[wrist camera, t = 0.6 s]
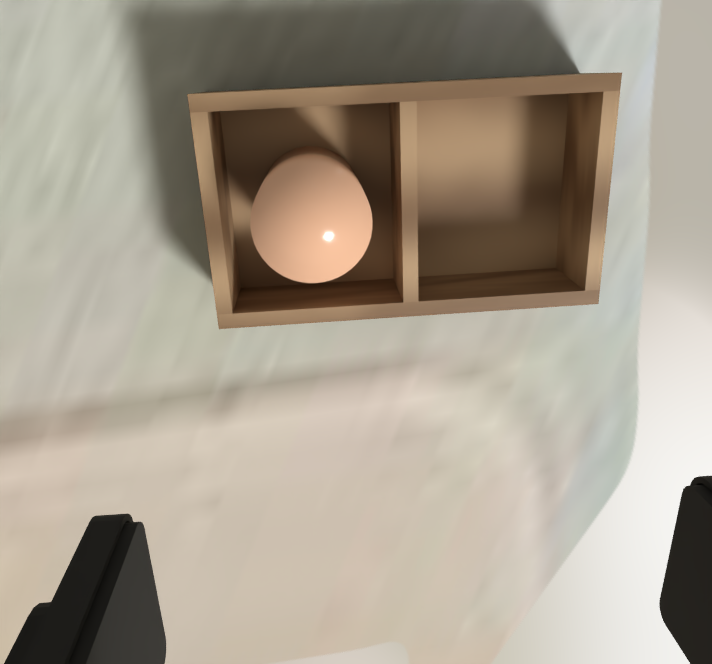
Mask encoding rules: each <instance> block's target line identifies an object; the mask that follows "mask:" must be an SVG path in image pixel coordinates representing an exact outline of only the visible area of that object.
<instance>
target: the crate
mask: <svg viewBox="0 0 712 664" xmlns="http://www.w3.org/2000/svg"><path fill="white" fill-rule="evenodd" d="M621 76H622V73H579V74H559V75H538V76H518V77H498V78H478V79H458V80H437V81H417V82H397V83H377V84H357V85H336V86H316V87H296V88H276V89H255V90H235V91H215V92H201V93H193V94H187V96H188V103H189V111H190V118H191V125H192V133H193V140H194V148H195V155H196V162H197V170H198V177H199V185H200V192H201V199H202V207H203V214H204V222H205V229H206V236H207V244H208V251H209V259H210V266H211V273H212V281H213V288H214V296H215V303H216V310H217V318H218V325H219V329H226V328H241V327H256V326H271V325H286V324H301V323H316V322H331V321H346V320H362V319H377V318H392V317H407V316H422V315H437V314H452V313H467V312H482V311H498V310H513V309H528V308H543V307H558V306H573V305H588V304H598V301H599V292H600V282H601V272H602V262H603V252H604V243H605V233H606V223H607V213H608V204H609V194H610V184H611V174H612V164H613V155H614V145H615V135H616V125H617V116H618V106H619V96H620V86H621ZM306 146H316V147H322V148H325V149H328V150H331V151H333V152H335V153H336V154H338V155H340V156H341V157H342V158H343V159H345V160H346V161H347V162H348V163H349V165H350V166H351V167H352V169H353V170H354V172H355V174H356V176H357V178H358V180H359V182H360V184H361V186H362V188H363V191H364V193H365V195H366V197H367V199H368V202H369V205H370V208H371V212H372V221H373V222H372V234H371V239H370V242H369V245H368V247H367V249H366V251H365V253H364V255H363V256H362V258H361V259H360V260H359V262H358V263H357V264H356V265H355V266H354V267H353V268H352V269H351V270H349V271H348V272H346V273H345V274H343V275H342V276H340V277H338V278H335V279H333V280H330V281H326V282H320V283H304V282H298V281H294V280H291V279H289V278H286V277H284V276H282V275H281V274H279V273H277V272H276V271H275V270H273V269H272V268H271V267H270V266H269V265H268V264H267V263H266V262H265V261H264V260H263V258H262V257H261V255H260V254H259V252H258V251H257V249H256V246H255V244H254V241H253V238H252V234H251V228H250V217H251V210H252V206H253V203H254V200H255V197H256V195H257V193H258V191H259V189H260V186H261V184H262V182H263V180H264V178H265V175H266V173H267V172H268V170H269V168H270V167H271V165H272V164H273V163H274V162H275V161H276V160H277V159H278V158H279V157H280V156H282V155H283V154H285V153H287V152H288V151H291V150H293V149H296V148H299V147H306Z"/></svg>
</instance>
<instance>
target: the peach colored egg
mask: <svg viewBox="0 0 712 664" xmlns="http://www.w3.org/2000/svg"><path fill="white" fill-rule="evenodd" d="M372 222H373V221H372V212H371V208H370V205H369V202H368V199H367V197H366V195H365V193H364V191H363V188H362V186H361V184H360V182H359V180H358V178H357V176H356V174H355V172H354V170H353V169H352V167H351V166H350V165H349V163H348V162H347V161H346V160H345V159H343V158H342V157H341V156H340V155H338V154H336V153H335V152H333V151H331V150H328V149H325V148H322V147H316V146H306V147H299V148H296V149H293V150H291V151H288V152H287V153H285V154H283V155H282V156H280V157H279V158H278V159H277V160H276V161H275V162H274V163H273V164H272V165H271V167H270V168H269V170H268V172H267V173H266V175H265V178H264V180H263V182H262V184H261V186H260V189H259V191H258V193H257V195H256V197H255V200H254V203H253V206H252V210H251V217H250V228H251V234H252V238H253V241H254V244H255V246H256V249H257V251H258V252H259V254H260V255H261V257H262V258H263V260H264V261H265V262H266V263H267V264H268V265H269V266H270V267H271V268H272V269H273V270H275V271H276V272H277V273H279V274H281V275H282V276H284V277H286V278H289V279H291V280H294V281H298V282H304V283H320V282H326V281H330V280H333V279H335V278H338V277H340V276H342V275H343V274H345V273H346V272H348V271H349V270H351V269H352V268H353V267H354V266H355V265H356V264H357V263H358V262H359V260H360V259H361V258H362V256H363V255H364V253H365V251H366V249H367V247H368V245H369V242H370V239H371V234H372Z"/></svg>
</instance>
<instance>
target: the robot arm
mask: <svg viewBox="0 0 712 664" xmlns="http://www.w3.org/2000/svg"><path fill="white" fill-rule="evenodd" d="M660 611H661V615H662V618H663V621H664V623H665V624H666V626H667V628H668V629H669V631H670V632H671V634H672V635H673V637H674V639H675V640H676V642H677V643H678V645H679V646H680V648H681V650H682V651H683V653H684V654H685V656H686V657H687V659H688V660H689V662H690V664H712V476H702V477H696V478H694V480H693V481H692V482H691V485H690V486H686V487H685V488H684V489H683V492H682V497H681V501H680V506H679V511H678V515H677V521H676V525H675V530H674V535H673V539H672V544H671V549H670V554H669V559H668V564H667V569H666V573H665V578H664V583H663V588H662V592H661V597H660ZM165 657H166V638H165V632H164V627H163V622H162V617H161V612H160V606H159V601H158V596H157V591H156V586H155V580H154V575H153V570H152V565H151V560H150V555H149V549H148V544H147V539H146V534H145V529H144V525H143V523H142V522H133V520H132V517H131V515H130V514H117V515H101V516H94V517H93V518H92V519H91V521H90V522H89V524H88V526H87V529H86V531H85V533H84V535H83V537H82V539H81V541H80V543H79V545H78V547H77V549H76V551H75V554H74V556H73V558H72V560H71V562H70V564H69V566H68V568H67V570H66V572H65V574H64V577H63V579H62V581H61V583H60V585H59V587H58V589H57V591H56V593H55V595H54V597H53V600H52V602H49V603H39V604H38V605H37V606H35V607H34V608H33V610H32V611H31V613H30V614H29V616H28V618H27V620H26V622H25V624H24V626H23V628H22V630H21V632H20V634H19V635H18V637H17V639H16V641H15V643H14V645H13V647H12V649H11V651H10V653H9V655H8V657H7V659H6V661H5V663H4V664H164V663H165Z"/></svg>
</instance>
